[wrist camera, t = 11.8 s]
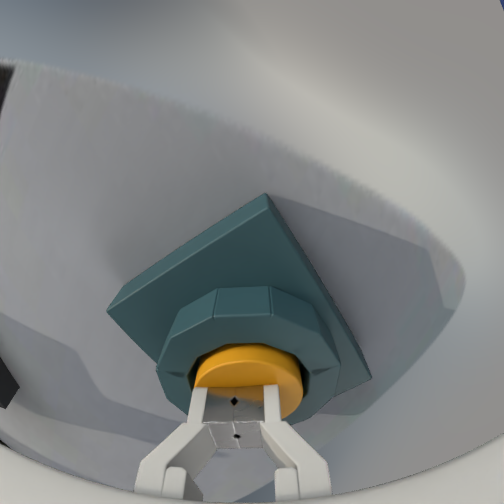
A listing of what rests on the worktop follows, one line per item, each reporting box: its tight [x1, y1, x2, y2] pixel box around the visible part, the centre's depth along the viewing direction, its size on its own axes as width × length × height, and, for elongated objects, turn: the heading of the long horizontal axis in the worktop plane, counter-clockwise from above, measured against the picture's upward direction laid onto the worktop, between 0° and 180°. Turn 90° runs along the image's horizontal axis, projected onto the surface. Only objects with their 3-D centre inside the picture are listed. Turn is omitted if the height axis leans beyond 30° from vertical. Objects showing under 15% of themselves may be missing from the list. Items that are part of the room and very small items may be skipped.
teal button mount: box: [106, 193, 372, 425], centre depth 12 cm, size 10×8×4 cm
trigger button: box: [194, 343, 303, 419], centre depth 11 cm, size 4×4×2 cm
